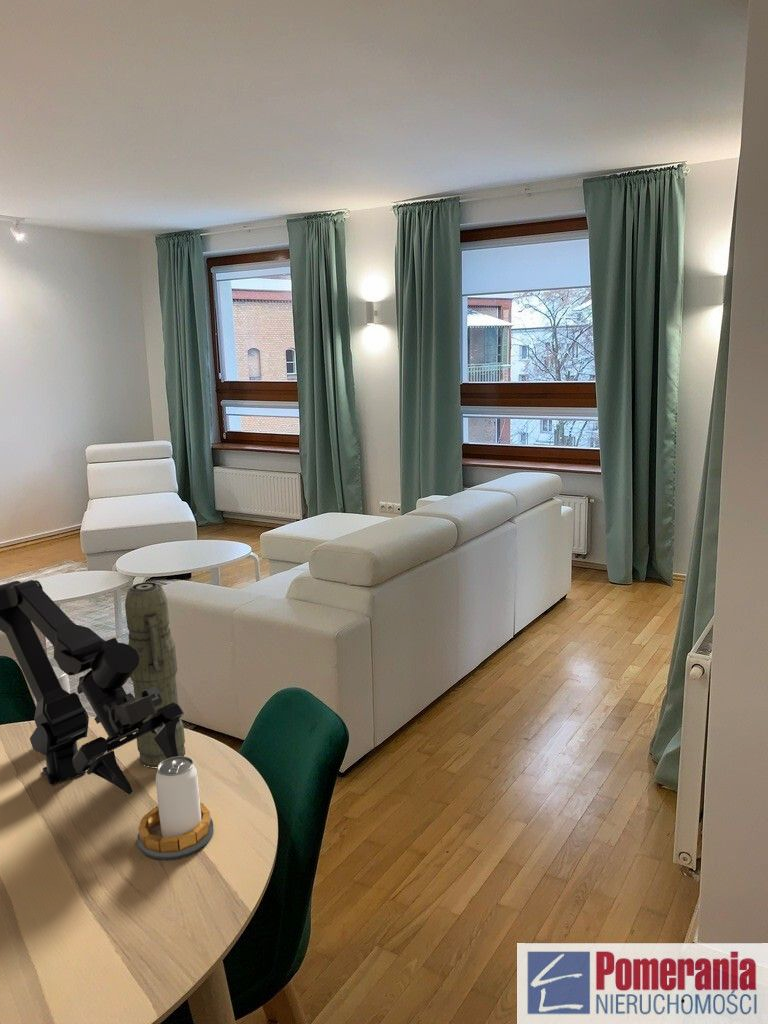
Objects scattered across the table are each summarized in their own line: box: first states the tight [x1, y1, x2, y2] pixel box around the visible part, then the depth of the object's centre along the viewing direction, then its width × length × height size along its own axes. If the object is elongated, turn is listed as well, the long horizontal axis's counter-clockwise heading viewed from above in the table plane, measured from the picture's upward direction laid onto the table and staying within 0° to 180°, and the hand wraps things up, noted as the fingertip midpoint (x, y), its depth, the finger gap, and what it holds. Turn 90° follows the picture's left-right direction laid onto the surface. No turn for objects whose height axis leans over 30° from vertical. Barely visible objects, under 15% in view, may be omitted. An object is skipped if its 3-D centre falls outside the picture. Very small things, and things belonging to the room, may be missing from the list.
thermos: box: [124, 581, 186, 768], centre depth 148 cm, size 9×12×35 cm
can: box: [155, 755, 202, 838], centre depth 125 cm, size 6×6×12 cm
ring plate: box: [137, 802, 214, 861], centre depth 127 cm, size 12×12×3 cm
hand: (155, 780), depth 128 cm, fingers open, 9 cm apart
